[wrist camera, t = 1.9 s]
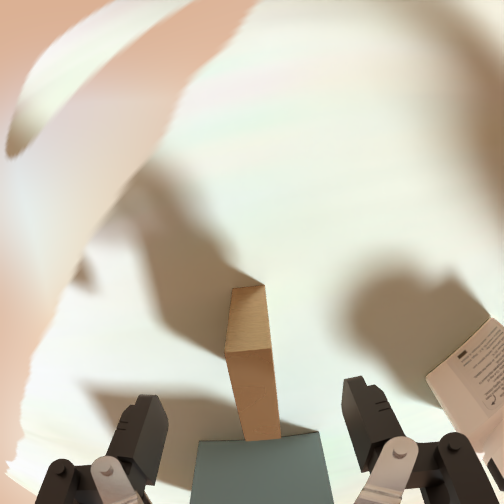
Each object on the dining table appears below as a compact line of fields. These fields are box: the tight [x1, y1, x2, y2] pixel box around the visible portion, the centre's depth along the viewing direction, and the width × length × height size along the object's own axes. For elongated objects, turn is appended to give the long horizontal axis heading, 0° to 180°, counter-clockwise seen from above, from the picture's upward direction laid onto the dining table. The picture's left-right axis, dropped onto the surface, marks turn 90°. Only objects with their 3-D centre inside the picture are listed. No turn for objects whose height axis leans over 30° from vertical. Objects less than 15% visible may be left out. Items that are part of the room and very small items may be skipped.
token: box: [224, 285, 281, 441], centre depth 15 cm, size 2×6×6 cm, turn 7°
